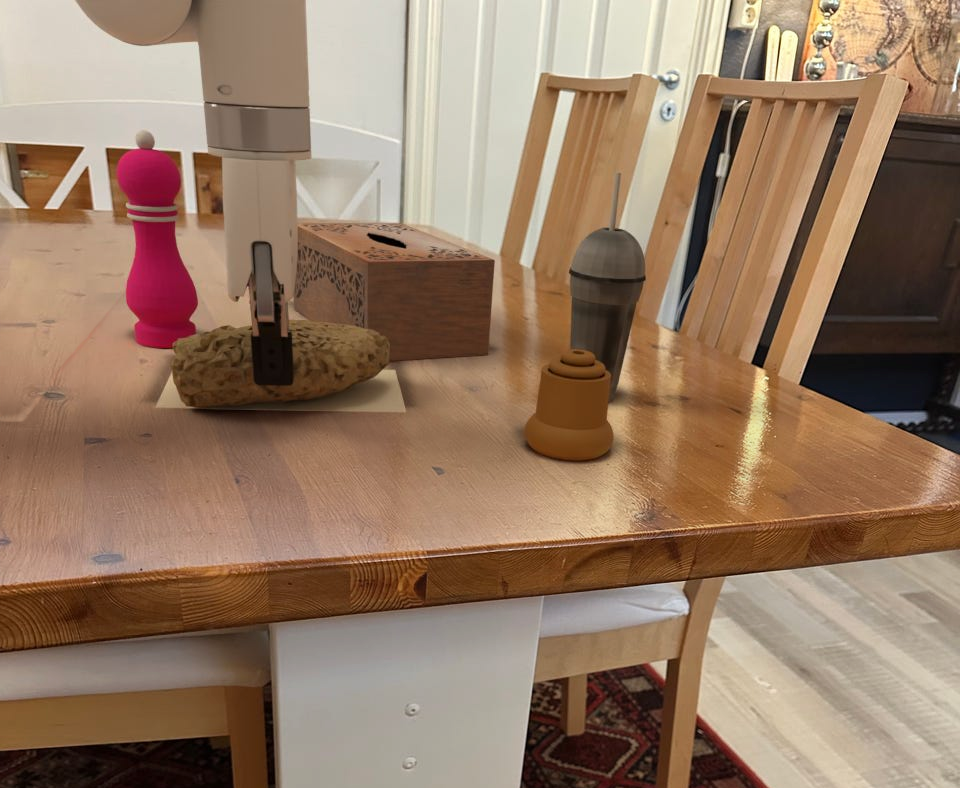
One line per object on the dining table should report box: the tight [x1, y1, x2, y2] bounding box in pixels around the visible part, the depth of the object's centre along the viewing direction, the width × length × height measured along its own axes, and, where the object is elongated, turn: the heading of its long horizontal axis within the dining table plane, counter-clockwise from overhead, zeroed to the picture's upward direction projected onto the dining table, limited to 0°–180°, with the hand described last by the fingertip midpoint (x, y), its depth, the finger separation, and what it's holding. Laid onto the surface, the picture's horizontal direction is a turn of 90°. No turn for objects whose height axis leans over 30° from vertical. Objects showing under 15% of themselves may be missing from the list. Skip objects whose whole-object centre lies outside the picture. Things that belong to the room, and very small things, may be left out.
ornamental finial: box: [524, 348, 614, 462], centre depth 77 cm, size 8×8×8 cm
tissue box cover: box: [292, 222, 496, 362], centre depth 108 cm, size 26×14×10 cm, turn 27°
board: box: [154, 369, 407, 414], centre depth 89 cm, size 22×14×1 cm, turn 99°
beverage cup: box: [568, 172, 647, 403], centre depth 88 cm, size 7×7×20 cm
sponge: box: [169, 319, 390, 407], centre depth 85 cm, size 13×8×20 cm
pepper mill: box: [116, 129, 199, 349], centre depth 95 cm, size 7×7×20 cm
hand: (274, 382), depth 78 cm, fingers closed
